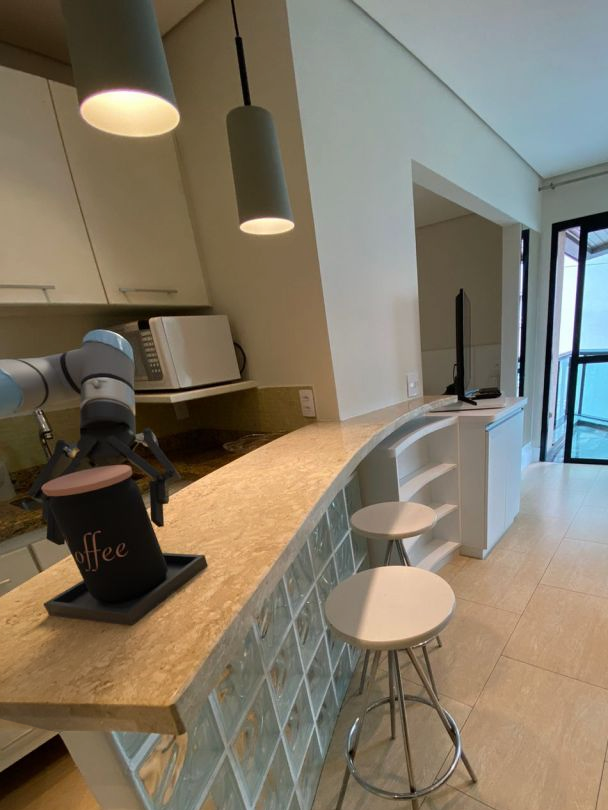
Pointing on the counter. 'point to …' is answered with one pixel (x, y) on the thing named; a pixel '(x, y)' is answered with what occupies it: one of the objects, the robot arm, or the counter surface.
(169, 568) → the black tray
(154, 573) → the coffee jar
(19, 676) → the counter surface
